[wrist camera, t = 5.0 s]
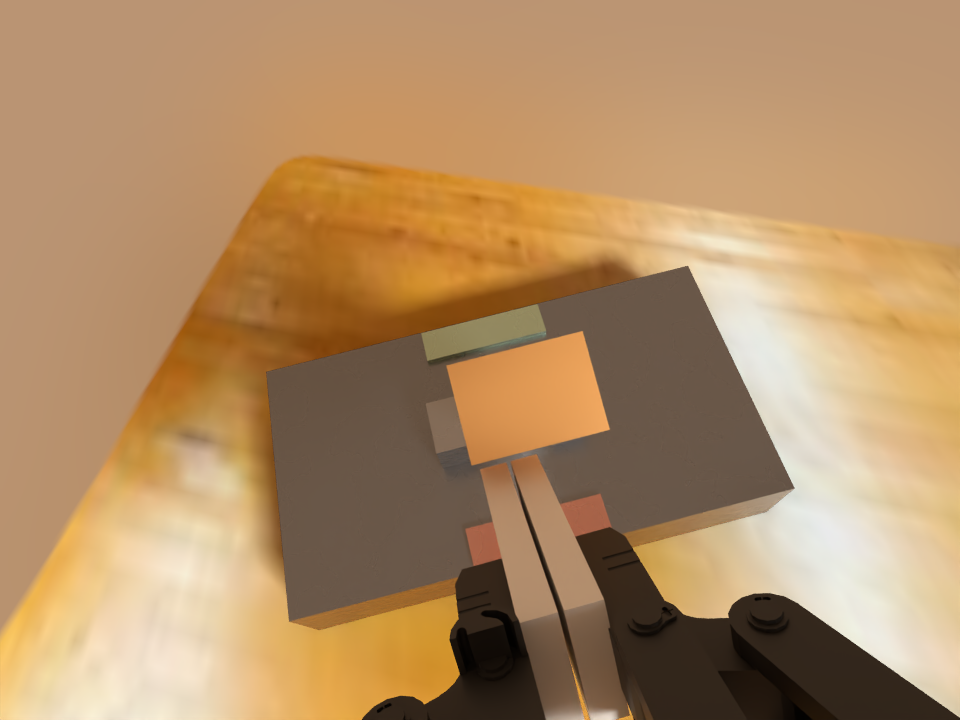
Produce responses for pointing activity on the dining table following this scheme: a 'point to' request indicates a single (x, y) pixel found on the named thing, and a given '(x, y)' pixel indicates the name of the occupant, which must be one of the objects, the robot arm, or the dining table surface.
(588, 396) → the lever
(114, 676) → the dining table surface
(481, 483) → the box
